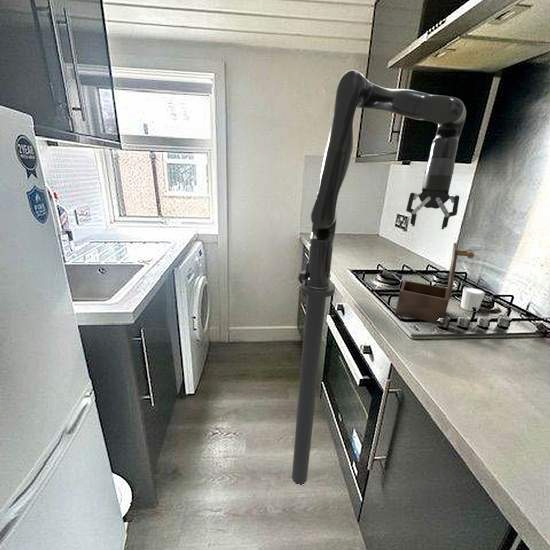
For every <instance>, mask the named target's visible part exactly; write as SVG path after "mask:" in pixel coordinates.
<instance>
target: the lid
mask: <svg viewBox="0 0 550 550" xmlns="http://www.w3.org/2000/svg"><path fill="white" fill-rule="evenodd" d="M458 256H459V257H460V256H461V257H467V258H468V259H473V258H474V257H475V254H474V250H472V249H467V250H459V248H458V243H457V242H454V243H453V246H452V253H451V261H450V269H449V274H448V282H447V288H448V299H449V300H451V299H452V294H453V289H454V288H453V286H454V281H455V273H456V268H457V262H458V261H457V260H458Z"/></svg>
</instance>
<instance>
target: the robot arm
mask: <svg viewBox="0 0 550 550" xmlns="http://www.w3.org/2000/svg"><path fill="white" fill-rule="evenodd" d="M357 109H370V110H371V109H373V110H380V111H384V112H387V113H392V114H394V115H397V116H401V117H405V118H407V119H408V118H409V119H413V120H416V121H417V120H418V121H427V122H432V123H434V124H437V129H436V133H435V137H434V139H432V142H431V146H430V150H429V154H428V159H427V163H426V165H425V170H424V177H423V182H422V188H421V191H420V193H418V192H417V193H415V192H410V194H409V197H408V200H407V206H406V209H405V210H406V211H405V212H407V213H410V214H411V217H410V221H409V223H410V225H411V227H415V226H416V221H417V216H418V215H417V214H418V212H419V211H420V210H421V209H422V208H423V207H424V208H426V209H431V208H432V209H436V210H438V209H440V210H441V211H442V213H443V220H442V222H441V223H442V224H441V228H440V229H441V230H445V229H446V228H447V227H448V223H449V220H450V218H451V217H455V216H457V214H458V210H459V203H460V195H458V194H456V195H450V188H451V184H452V179H453V174H454V170H455V164H456V163H455V161H456V156H457V151H458V146H459V140H460V137H461V134H462V131H463V128H464V125H465V122H466V117H467V108H466V106H465V104H464V102H463V101H462V100H461V99H460V98H457V97H454V96H448V95H439V94H430V93H427V92H423V91H419V90H415V89H407V88H394V89H393V88H385V87H382V86H379V85H377V84H374V83H372V82H370V81H369V80H368V79H367V78H366V77H365V75H363V74H362V73H361V72H359V71H358V70H355V69H350V70H348V71H346V72H345V73H344V74H342V76H341V78H340V80H339V81H338V84H337V87H336V92H335V100H334V107H333V115H332V121H331V124H330V129H329V130H330V131H329V134H328V138H327V144H326V147H325V152H324V155H323V161H322V167H321V172H320V178H319V186H318V191H317V194H316V198H315V201H314V203H313V207H312V209H311V212H310V221H311V223H312V225H311V233H310V237H309V246H308V259H307V260H308V261H307V262H306V263H305V269H303V270H302V271H300V272H299V273H298V277H297V279H298V282H299V283H301V284H303V281H305V286H307V287H309V288H312V289H319V290H322V289H327V288H329V283H330V279H331V277H332V274H331V269H332V259H333V250H334V242H335V238H336V237H335V236H336V228H337V218H338V212H337V204H338V198H339V194H340V191H341V188H342V187H343V183H344V180H345V179H346V177H347V172H348V171H349V168H350V167H349V166H350V163H351V159H352V155H353V150H354V148H353V147H354V119H355V113H356V111H357ZM418 198H419V200H420V203H419V204H418V205H417V206H416V207H415V208H414V209H413V208H412V207H413V203H414V201H416V200H417V199H418ZM449 200H450V201H451V202H450V203H452V204H453V205H452V211H449V210H448V208H447V207H446V205H445V203H446V202H448V201H449Z"/></svg>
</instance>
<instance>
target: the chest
mask: <svg viewBox="0 0 550 550" xmlns="http://www.w3.org/2000/svg"><path fill="white" fill-rule="evenodd" d="M449 302H450V299H448V287H445V286H444V287H443V286H439V285H433V284H427V283H421V282H417V281H410V280H403V282H402V285H401V287H400V290H399V294H398V300H397V305H396V309H395V310H396V311H395V315H397V316H398V315H399V316H402V317H407V318H410V319H411V318H412V319H415V320H419V321H424V322H429V323H433V324H437V325H441V326H442V325H444V322H443V323H441V322H440V321H437V320H438V319H439V318H444V319H445V318H446V314H447V311H448V306H449Z"/></svg>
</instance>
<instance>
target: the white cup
mask: <svg viewBox="0 0 550 550" xmlns="http://www.w3.org/2000/svg"><path fill="white" fill-rule="evenodd" d="M485 295H486V292H485V291H484V290H482V289H479V288H475V287H463V289H462V296H461V302H460V307H461V309H463V310H465V311H470V312H474V311H473V309H472V307H476V308H477V309H476V311H475V312H478V311H479V309H480V307H481V305H482V302H483V300H484V297H485Z"/></svg>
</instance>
